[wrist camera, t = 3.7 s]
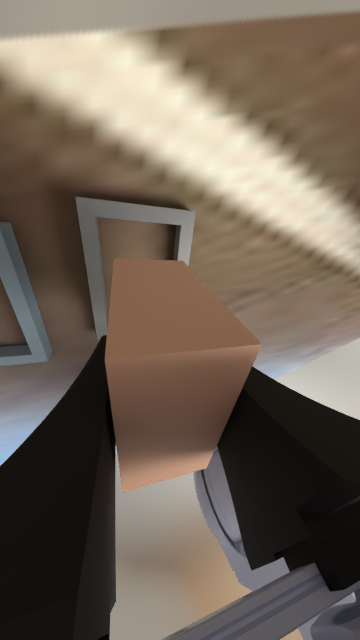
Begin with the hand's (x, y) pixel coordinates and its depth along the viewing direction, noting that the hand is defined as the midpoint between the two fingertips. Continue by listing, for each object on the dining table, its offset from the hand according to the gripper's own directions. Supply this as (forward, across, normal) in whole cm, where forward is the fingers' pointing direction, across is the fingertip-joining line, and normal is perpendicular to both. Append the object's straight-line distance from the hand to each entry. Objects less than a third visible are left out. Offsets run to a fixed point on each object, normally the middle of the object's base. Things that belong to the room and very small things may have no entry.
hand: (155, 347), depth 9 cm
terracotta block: (+3, 0, 0) cm, 3 cm away
